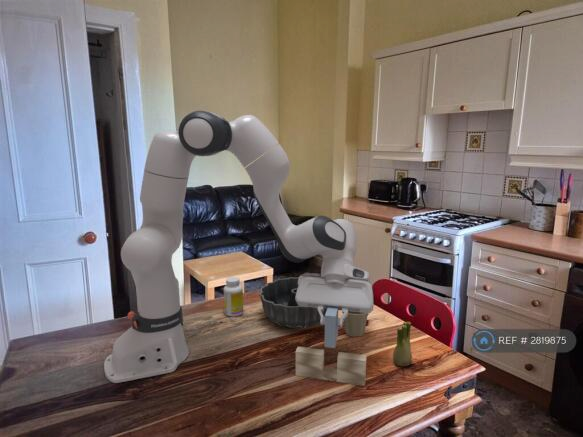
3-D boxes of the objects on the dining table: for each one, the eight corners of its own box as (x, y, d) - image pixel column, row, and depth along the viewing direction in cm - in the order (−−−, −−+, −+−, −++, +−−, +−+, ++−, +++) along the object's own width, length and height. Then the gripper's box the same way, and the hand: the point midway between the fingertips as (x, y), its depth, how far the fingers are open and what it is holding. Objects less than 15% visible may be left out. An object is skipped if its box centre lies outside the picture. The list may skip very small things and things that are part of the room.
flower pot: (369, 341, 116) (370, 315, 114) (338, 338, 118) (339, 312, 116) (369, 326, 125) (370, 302, 123) (340, 324, 127) (341, 300, 125)
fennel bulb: (397, 370, 102) (399, 329, 99) (387, 359, 106) (390, 320, 104) (415, 366, 103) (418, 326, 101) (405, 356, 108) (408, 318, 106)
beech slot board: (365, 380, 98) (366, 355, 96) (364, 386, 95) (365, 361, 94) (297, 369, 102) (297, 346, 100) (295, 375, 99) (295, 351, 98)
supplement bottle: (246, 311, 137) (246, 277, 134) (236, 318, 131) (235, 283, 128) (231, 307, 140) (230, 274, 137) (220, 315, 134) (219, 280, 131)
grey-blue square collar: (334, 348, 93) (335, 316, 92) (324, 346, 94) (324, 315, 92) (337, 336, 99) (338, 306, 97) (327, 335, 99) (328, 305, 98)
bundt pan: (249, 331, 123) (248, 302, 121) (271, 298, 148) (270, 274, 146) (330, 340, 117) (330, 310, 115) (338, 304, 142) (339, 279, 140)
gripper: (297, 267, 102) (288, 316, 95) (375, 273, 97) (372, 326, 90) (301, 276, 107) (293, 324, 100) (374, 283, 102) (372, 333, 95)
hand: (331, 325), depth 95 cm, fingers closed on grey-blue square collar, 3 cm apart
